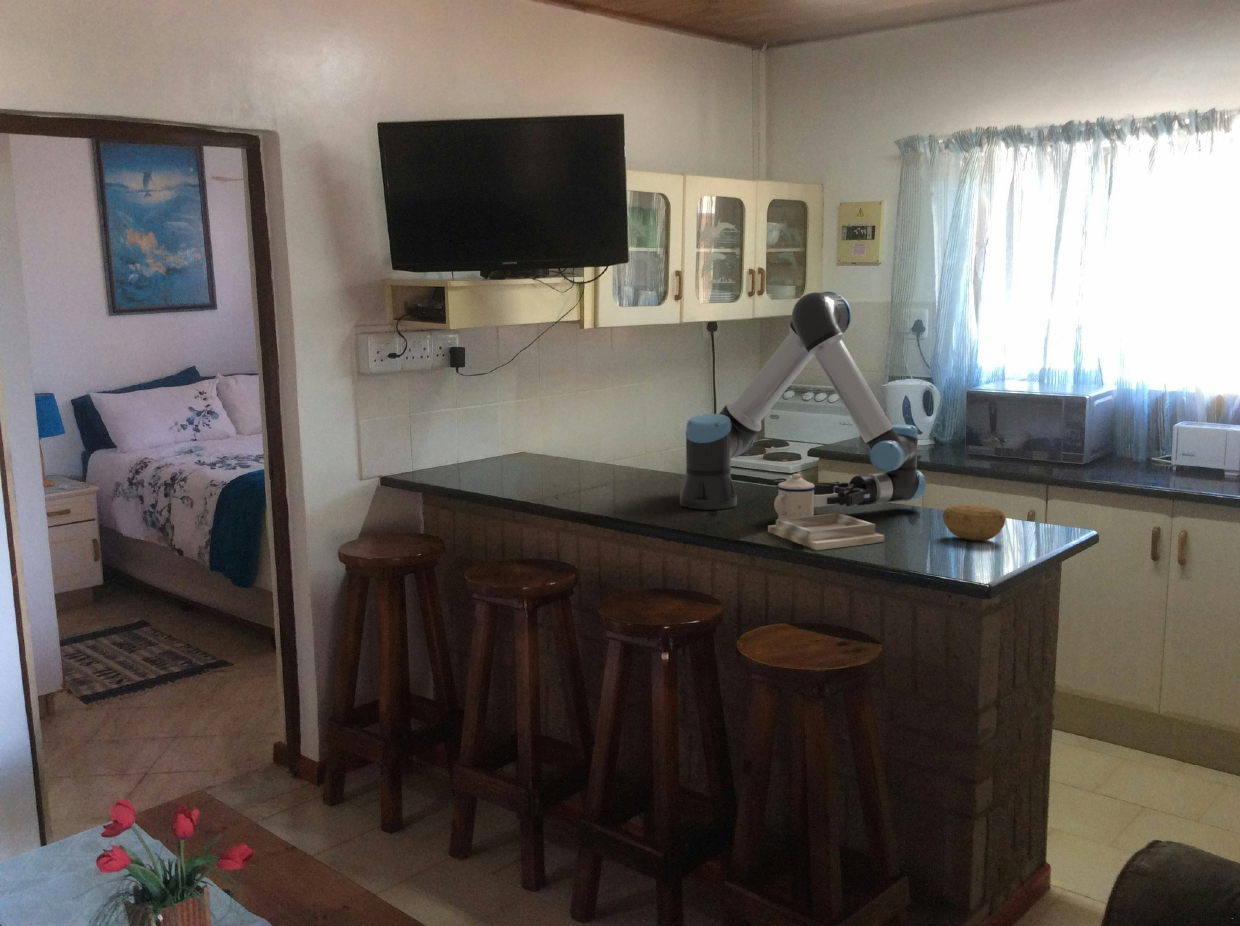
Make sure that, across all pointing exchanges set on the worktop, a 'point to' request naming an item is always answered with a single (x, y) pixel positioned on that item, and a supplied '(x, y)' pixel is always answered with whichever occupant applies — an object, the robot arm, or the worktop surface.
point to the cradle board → (826, 531)
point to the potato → (974, 521)
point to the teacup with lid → (794, 498)
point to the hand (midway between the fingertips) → (798, 496)
